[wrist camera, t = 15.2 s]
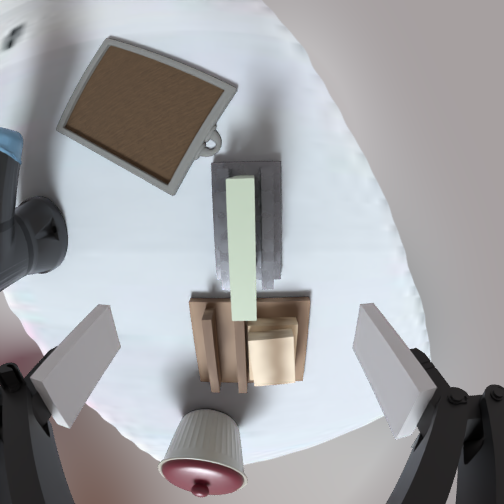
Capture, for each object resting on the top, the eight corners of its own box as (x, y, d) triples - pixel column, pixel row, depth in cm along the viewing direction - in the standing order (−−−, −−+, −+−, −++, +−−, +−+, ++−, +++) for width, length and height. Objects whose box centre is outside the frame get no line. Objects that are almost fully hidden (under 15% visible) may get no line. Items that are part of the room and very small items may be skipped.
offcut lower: (249, 371, 49) (249, 380, 47) (248, 318, 46) (247, 325, 43) (292, 370, 49) (293, 378, 47) (295, 316, 46) (298, 324, 43)
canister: (169, 393, 54) (144, 469, 33) (251, 401, 54) (250, 484, 34) (177, 436, 59) (161, 501, 39) (246, 444, 59) (244, 512, 39)
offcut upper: (254, 377, 47) (254, 386, 44) (248, 332, 44) (248, 341, 41) (293, 373, 46) (295, 382, 44) (291, 328, 44) (293, 336, 41)
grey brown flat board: (106, 37, 32) (252, 96, 36) (110, 40, 34) (252, 98, 38) (55, 129, 37) (187, 204, 41) (60, 130, 38) (189, 203, 43)
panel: (239, 267, 43) (232, 320, 28) (236, 175, 39) (225, 179, 24) (255, 267, 43) (256, 320, 28) (254, 175, 39) (254, 178, 24)
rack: (201, 376, 52) (197, 395, 46) (190, 298, 47) (183, 313, 41) (301, 375, 51) (305, 394, 46) (308, 296, 46) (314, 312, 41)
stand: (218, 276, 45) (211, 296, 38) (212, 163, 40) (203, 161, 33) (279, 275, 45) (284, 295, 38) (279, 161, 40) (285, 159, 33)
